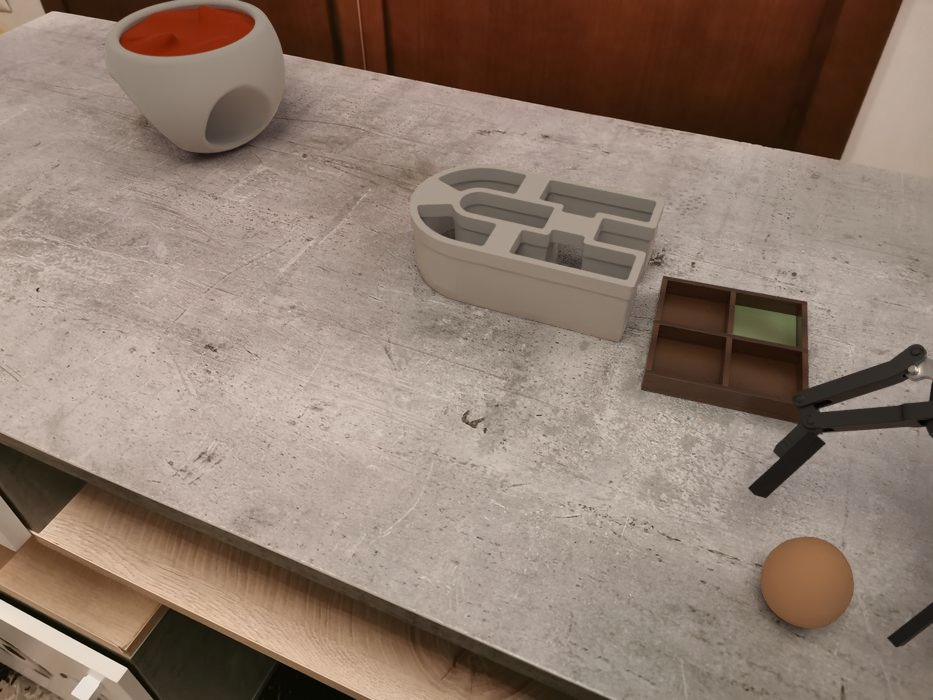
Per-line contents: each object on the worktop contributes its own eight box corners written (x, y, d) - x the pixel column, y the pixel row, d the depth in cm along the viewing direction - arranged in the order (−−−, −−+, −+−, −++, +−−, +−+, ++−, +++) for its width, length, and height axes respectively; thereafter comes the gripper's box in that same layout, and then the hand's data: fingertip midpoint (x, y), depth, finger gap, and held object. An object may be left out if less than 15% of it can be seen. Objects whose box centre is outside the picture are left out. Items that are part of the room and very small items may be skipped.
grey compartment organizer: (621, 347, 80) (633, 287, 73) (391, 287, 87) (384, 228, 81) (653, 257, 90) (666, 198, 84) (445, 210, 98) (443, 153, 91)
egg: (741, 620, 58) (770, 571, 53) (759, 555, 62) (788, 503, 56) (824, 658, 56) (865, 612, 50) (838, 588, 60) (877, 538, 54)
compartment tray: (800, 424, 72) (809, 407, 70) (640, 389, 75) (644, 373, 74) (800, 318, 82) (807, 301, 81) (659, 292, 86) (663, 275, 84)
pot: (315, 102, 119) (295, -12, 106) (270, 185, 103) (240, 61, 90) (175, 96, 121) (139, -17, 108) (109, 176, 105) (58, 54, 92)
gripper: (1266, 505, 43) (975, 712, 50) (915, 268, 59) (726, 449, 65) (1290, 492, 38) (959, 727, 44) (896, 235, 53) (692, 436, 60)
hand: (820, 562), depth 55 cm, fingers open, 13 cm apart
